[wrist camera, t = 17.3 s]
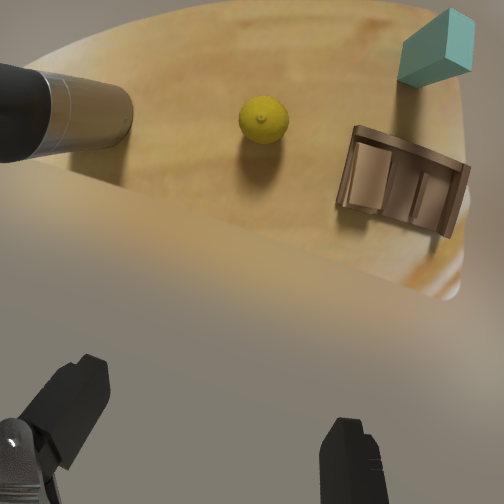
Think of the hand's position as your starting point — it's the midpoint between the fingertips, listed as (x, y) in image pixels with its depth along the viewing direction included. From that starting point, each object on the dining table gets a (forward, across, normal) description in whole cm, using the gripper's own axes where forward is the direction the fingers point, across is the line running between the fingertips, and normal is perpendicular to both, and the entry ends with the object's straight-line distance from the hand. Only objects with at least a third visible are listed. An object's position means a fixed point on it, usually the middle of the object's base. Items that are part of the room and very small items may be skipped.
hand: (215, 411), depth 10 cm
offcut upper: (+31, -11, -7) cm, 33 cm away
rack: (+33, -16, -8) cm, 38 cm away
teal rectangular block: (+33, -14, -23) cm, 43 cm away
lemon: (+33, +3, -10) cm, 35 cm away
